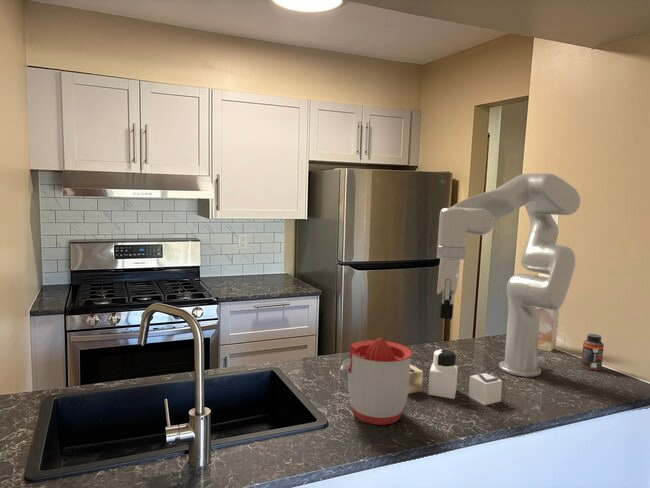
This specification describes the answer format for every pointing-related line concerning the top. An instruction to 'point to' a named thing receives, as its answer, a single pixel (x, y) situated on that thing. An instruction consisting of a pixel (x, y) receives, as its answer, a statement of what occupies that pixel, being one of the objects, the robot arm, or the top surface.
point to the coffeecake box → (547, 328)
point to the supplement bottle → (592, 352)
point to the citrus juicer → (378, 380)
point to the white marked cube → (485, 388)
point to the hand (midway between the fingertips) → (446, 317)
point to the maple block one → (415, 380)
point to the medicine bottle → (443, 374)
